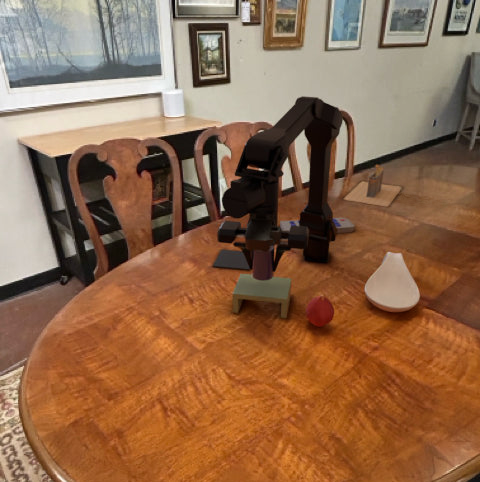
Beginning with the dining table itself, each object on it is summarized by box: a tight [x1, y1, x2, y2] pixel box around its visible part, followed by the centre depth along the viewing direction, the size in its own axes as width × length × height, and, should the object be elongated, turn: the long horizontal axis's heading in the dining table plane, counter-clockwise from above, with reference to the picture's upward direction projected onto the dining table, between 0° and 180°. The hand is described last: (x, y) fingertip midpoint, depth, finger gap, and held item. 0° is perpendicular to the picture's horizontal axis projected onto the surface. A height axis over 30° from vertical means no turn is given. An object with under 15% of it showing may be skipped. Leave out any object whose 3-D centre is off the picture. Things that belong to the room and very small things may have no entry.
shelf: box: [231, 273, 292, 319], centre depth 95 cm, size 12×9×5 cm
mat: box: [212, 249, 250, 271], centre depth 115 cm, size 10×10×1 cm
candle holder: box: [251, 246, 276, 281], centre depth 91 cm, size 5×5×7 cm
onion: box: [305, 294, 335, 328], centre depth 87 cm, size 6×6×8 cm
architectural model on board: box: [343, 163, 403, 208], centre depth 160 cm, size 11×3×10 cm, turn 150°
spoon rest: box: [364, 251, 421, 313], centre depth 99 cm, size 24×12×7 cm, turn 163°
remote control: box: [279, 217, 356, 234], centre depth 132 cm, size 8×23×2 cm, turn 96°
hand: (262, 269), depth 92 cm, fingers closed on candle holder, 5 cm apart
